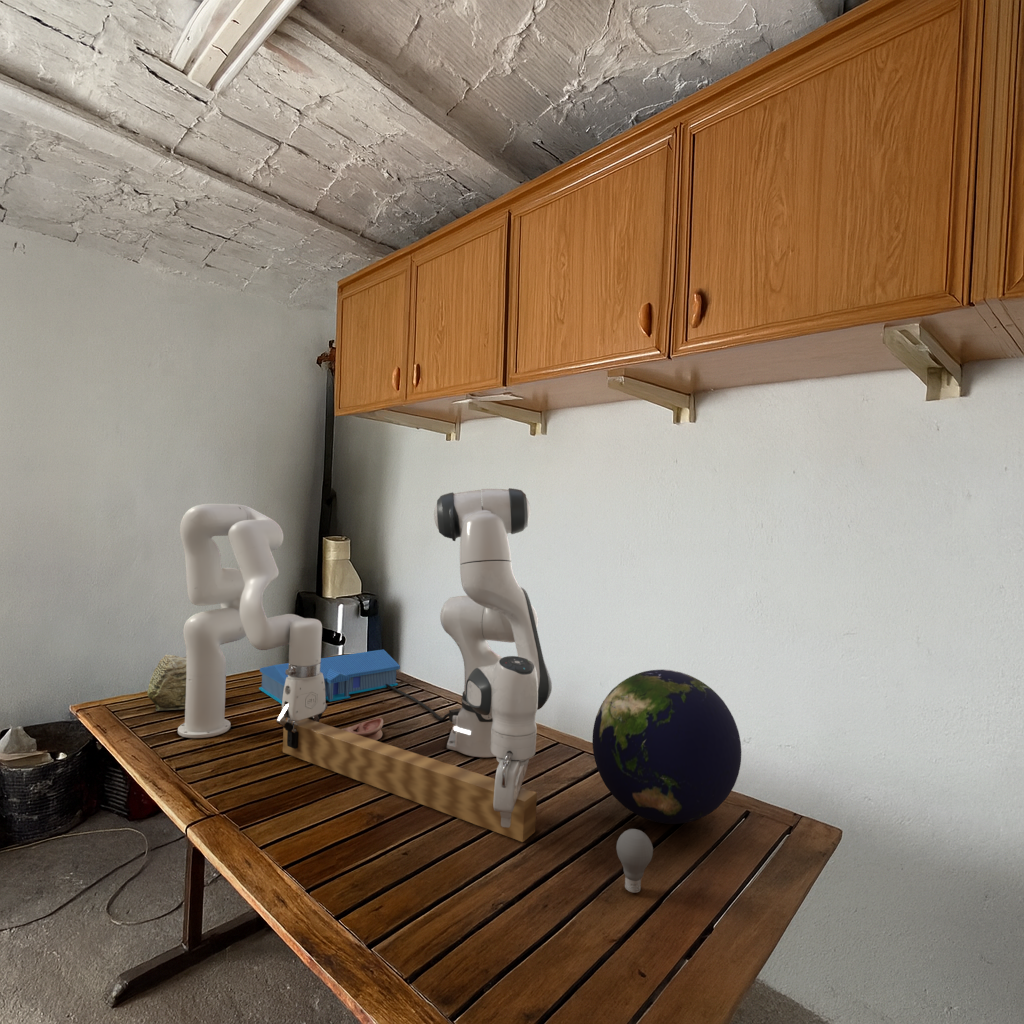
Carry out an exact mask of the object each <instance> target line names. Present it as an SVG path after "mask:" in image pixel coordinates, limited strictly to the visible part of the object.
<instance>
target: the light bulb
mask: <svg viewBox="0 0 1024 1024" xmlns="http://www.w3.org/2000/svg"><path fill="white" fill-rule="evenodd" d="M615 849H616V854H617V857H618V859H619V861H620V863H621V865H622V867H623V873H624V874H623V875H624V876H625V878H624V888H625V890H627V891H628V892H630V893H634V894H635V893H639V892H640V891H641V889H642V887H641V886H642V879H643V877H644V875H645V871H646V868H647V867H648V866H649V864H650V863H651V861H652V859H653V855H654V847H653V843H652V841H651V838H649V836H648V835H647V834H646V833H645V832H643V831H642V830H641V829H636V828H629V829H627V830H625V831H623V832H622V833H621V834H620V835H619V837H618V839H617V841H616V847H615Z"/></svg>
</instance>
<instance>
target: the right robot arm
mask: <svg viewBox="0 0 1024 1024" xmlns="http://www.w3.org/2000/svg"><path fill="white" fill-rule="evenodd" d="M531 511H532V509H531V505H530V502H529V499H528V498H527V495H526V493H525V492H524V491H523V490H522V489H518V488H508V489H504V488H481V489H473V490H467V491H466V490H465V491H460V492H456V493H454V492H448V493H445V494H441V495H440V496H439V497H438V499H437V500H436V504H435V507H434V511H433V520H434V524H435V526H436V529H438V532H439V533H440V534H441V536H443V537H444V538H447V539H451V540H452V541H453V542H456V539H458V538H459V539H460V540H459V572H460V583H461V586H462V590H463V591H464V593H465V594H466V595H459V596H457V595H456V596H452V597H449V598H447V600H446V601H445V602H444V603H443V604H442V607H441V610H440V614H439V618H440V619H439V620H440V625H441V627H442V628H443V630H444V632H445V633H446V634H447V635H449V637H451V638H452V640H453V641H454V643H455V644H456V646H457V647H458V649H459V651H460V654H461V656H462V661H463V668H464V669H463V670H464V688H463V691H462V696H461V707H460V708H453V709H449V710H448V713H446V714H445V715H443V717H440V716H439V715H438V714H437V713H436V712H435V711H434V710H433V709H431V707H429V706H427V704H426V703H423V702H422V701H420V700H418V699H417V698H415V697H414V696H412V695H410V694H409V693H406V692H404V691H402V690H400V689H398V688H396V687H395V686H390V685H388V684H386V686H387V687H386V688H388V689H390V690H392V691H394V692H397V693H399V694H400V695H402V696H404V697H406V698H408V699H410V700H411V701H413V702H415V703H416V704H418V705H420V706H421V707H423V709H425V710H427V712H429V713H430V714H431V715H432V716H434V717H435V719H436V720H438V721H440V722H443V721H445V720H446V719H447V718H448V721H449V722H451V723H452V727H451V730H450V733H449V737H448V740H447V742H446V749H447V750H451V751H455V752H458V753H461V754H463V755H465V756H469V757H475V758H495V757H496V758H495V759H496V761H497V762H498V764H497V768H496V771H495V778H494V779H495V787H494V800H493V807H494V810H495V811H497V812H500V815H501V826H502V827H506V828H509V827H510V825H511V819H512V815H511V813H512V812H513V809H514V806H515V803H516V800H517V797H518V794H519V791H520V788H521V787H522V785H523V782H524V779H525V776H526V773H527V770H528V765H529V762H530V759H531V758H532V757H534V756H535V755H536V754H537V753H536V752H537V751H536V750H537V731H538V728H537V721H536V713H537V711H538V710H541V709H542V708H543V707H544V706H545V705H546V703H547V702H548V700H549V698H550V696H551V693H552V689H553V683H552V678H551V675H550V673H549V670H548V667H547V664H546V662H545V659H544V655H543V651H542V646H541V641H540V637H539V633H538V626H539V616H538V613H537V610H536V609H535V607H534V605H532V604H531V600H530V596H529V595H528V593H527V591H526V589H524V588H523V587H522V586H520V585H519V582H518V581H517V579H516V576H515V573H514V570H513V564H512V553H511V547H510V541H509V536H508V534H511V535H515V534H518V533H521V532H524V530H526V528H527V527H528V525H529V522H530V519H531V513H532V512H531ZM488 641H490V642H500V643H501V642H502V643H514V644H515V649H516V653H517V655H516V656H515V655H507V656H504V657H502V656H501V655H499V654H498V653H497V652H495V651H494V650H493V649H492V648H491V647H490V645H489V642H488Z"/></svg>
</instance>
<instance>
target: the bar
mask: <svg viewBox="0 0 1024 1024" xmlns="http://www.w3.org/2000/svg"><path fill="white" fill-rule="evenodd" d="M286 721H287V719H286ZM291 725H293V721H292V724H291ZM341 729H342V728H338V727H335V726H332V725H329V724H326V723H322V722H320V721H319V722H317V721H313V720H310V719H307V718H306V719H303V720H300V721H299V722H298V726H297V730H296V731H297V732H298V748H296V749H294V748H291V747H289V746H287V732H288V731H287V730H285V728H284V727H283V730H282V734H283V735H282V753H283V754H286V755H288V756H291V757H294V758H296V759H299V760H302V761H305V762H308V763H309V764H312V765H315V766H318V767H320V768H324V769H326V770H329V771H332V772H334V773H337V774H340V775H342V776H344V777H348V778H350V779H353V780H356V781H358V782H361V783H363V784H366V785H369V786H372V787H373V788H377V789H379V790H382V791H385V792H387V793H389V794H393V795H395V796H398V797H401V798H403V799H406V800H409V801H411V802H414V803H417V804H420V805H422V806H425V807H427V808H430V809H432V810H435V811H438V812H441V813H443V814H446V815H449V816H451V817H454V818H457V819H459V820H462V821H465V822H467V823H470V824H473V825H475V826H478V827H481V828H483V829H486V830H489V831H492V832H494V833H497V834H500V835H501V836H502V835H503V836H505V837H508V838H510V839H513V840H516V841H518V842H521V843H523V842H525V841H526V840H528V839H529V838H530V837H531V836H532V835H533V834H534V833H536V824H537V823H536V821H537V820H536V819H537V801H538V799H537V798H538V791H534V790H531V789H528V788H525V787H522V786H521V788H520V791H519V794H518V797H517V800H516V803H515V806H514V809H513V812H512V813H511V815H512V819H511V825H510V827H509V828H506V827H502V826H501V815H500V812H497V811H495V810H494V807H493V800H494V787H495V778H494V777H490V776H487V775H485V774H481V773H478V772H475V771H472V770H469V769H466V768H463V767H459V766H457V765H453V764H450V763H447V762H444V761H442V760H437V759H434V758H432V757H429V756H425V755H422V754H419V753H416V752H413V751H409V750H407V749H404V748H400V747H397V746H394V745H392V744H387V743H385V742H382V741H378V740H373V739H369V738H366V737H363V736H360V735H357V734H354V733H351V732H348V731H345V730H341Z"/></svg>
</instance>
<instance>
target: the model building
mask: <svg viewBox="0 0 1024 1024" xmlns="http://www.w3.org/2000/svg"><path fill="white" fill-rule="evenodd" d="M288 666H289V662H287V663H278V664H272V665H268V666H264V667H263V666H262V667H260V668H259V672H260V673H261V686H260V687H258V690H260V691H261V692H262V693H264V694H265V695H267V696H268V697H270V698H271V699H273V700H274V701H276V702H277V703H279V704H280V705H282V699H283V691H284V686H285V681H286V677H288V675H286V673H285V671H286V670H287V669H288ZM400 669H401V665H400V664H399V663H398V662H397V661H396V660H395V659H394V658H393V657H392V656H391V654H389V653H388V652H387V651H386V650H385V649H376V650H368V651H363V652H356V653H349V654H342V655H341V654H340V655H335V656H329V657H328V656H327V657H321V669H320V672H321V673H323V677H324V683H325V701H327V702H329V703H330V702H335V701H341V700H346V699H347V700H348V699H350V698H351V695H353V694H359V693H364V692H365V693H366V692H369V691H373V690H381V689H385V688H388V687H387V686H386V684H388V685H390V686H392V687H395V686H399V683H398V682H397V670H400Z"/></svg>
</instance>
